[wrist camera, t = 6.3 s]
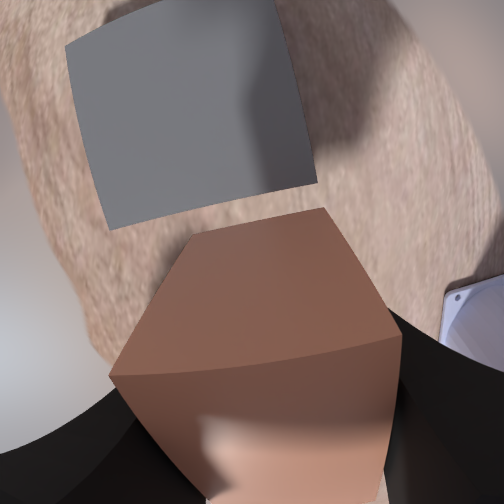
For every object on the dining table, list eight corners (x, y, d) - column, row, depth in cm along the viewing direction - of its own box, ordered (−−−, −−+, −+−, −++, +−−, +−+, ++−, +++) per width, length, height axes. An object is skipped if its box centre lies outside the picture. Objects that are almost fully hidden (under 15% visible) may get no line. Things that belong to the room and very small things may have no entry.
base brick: (265, -3, 12) (265, -26, 9) (308, 173, 16) (317, 183, 13) (93, 54, 13) (64, 46, 11) (132, 213, 17) (109, 230, 14)
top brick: (323, 207, 9) (401, 334, 3) (342, 360, 11) (375, 500, 6) (192, 234, 9) (108, 375, 4) (241, 376, 12) (226, 517, 6)
